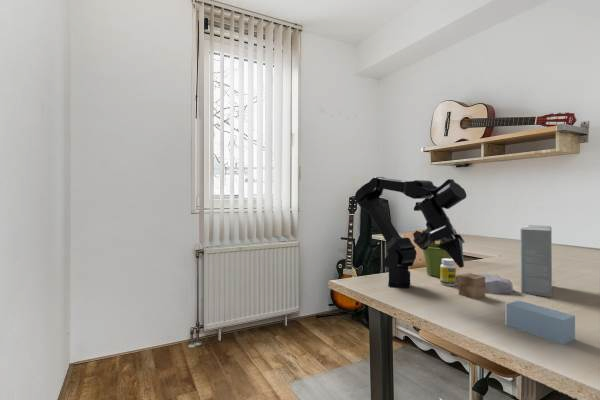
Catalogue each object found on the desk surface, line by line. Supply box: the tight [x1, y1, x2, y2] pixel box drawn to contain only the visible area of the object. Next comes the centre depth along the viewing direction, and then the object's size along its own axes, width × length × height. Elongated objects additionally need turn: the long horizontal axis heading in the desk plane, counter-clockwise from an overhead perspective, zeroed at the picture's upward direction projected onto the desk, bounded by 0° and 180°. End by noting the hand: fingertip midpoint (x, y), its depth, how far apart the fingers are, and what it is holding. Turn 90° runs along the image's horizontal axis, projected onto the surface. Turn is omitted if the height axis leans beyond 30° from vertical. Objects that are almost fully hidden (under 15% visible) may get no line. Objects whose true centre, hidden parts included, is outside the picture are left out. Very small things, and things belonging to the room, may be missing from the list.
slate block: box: [504, 299, 576, 346], centre depth 67 cm, size 5×5×11 cm
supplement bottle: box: [439, 258, 457, 287], centre depth 104 cm, size 5×5×8 cm
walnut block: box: [458, 272, 486, 300], centre depth 92 cm, size 5×5×6 cm
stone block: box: [476, 273, 513, 294], centre depth 100 cm, size 12×5×10 cm
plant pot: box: [422, 242, 452, 278], centre depth 116 cm, size 12×12×11 cm
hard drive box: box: [519, 224, 553, 298], centre depth 98 cm, size 16×8×20 cm, turn 141°
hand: (461, 267), depth 83 cm, fingers closed
